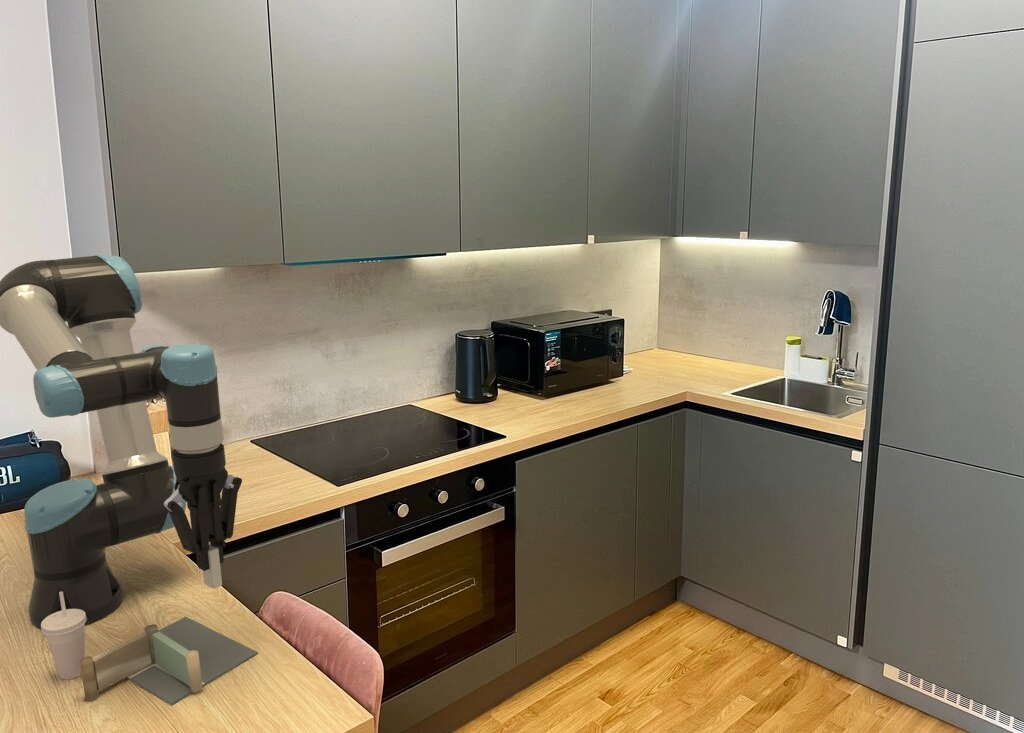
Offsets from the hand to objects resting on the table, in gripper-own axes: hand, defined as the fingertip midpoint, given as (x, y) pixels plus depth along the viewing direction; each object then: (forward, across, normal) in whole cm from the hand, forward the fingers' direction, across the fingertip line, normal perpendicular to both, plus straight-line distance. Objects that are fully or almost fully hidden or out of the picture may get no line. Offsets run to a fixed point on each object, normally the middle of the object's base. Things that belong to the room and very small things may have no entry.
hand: (213, 584), depth 131 cm
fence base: (+14, +12, -8) cm, 20 cm away
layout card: (+14, +4, -6) cm, 16 cm away
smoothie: (+14, +16, -17) cm, 27 cm away
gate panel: (+13, +7, -1) cm, 15 cm away
